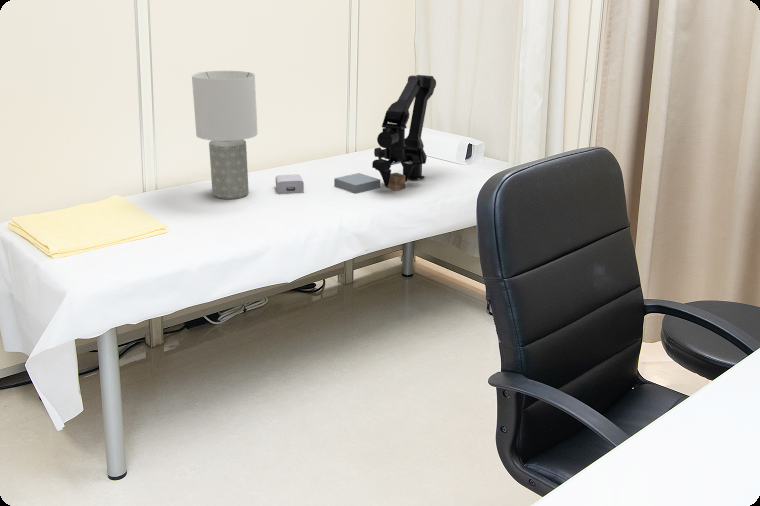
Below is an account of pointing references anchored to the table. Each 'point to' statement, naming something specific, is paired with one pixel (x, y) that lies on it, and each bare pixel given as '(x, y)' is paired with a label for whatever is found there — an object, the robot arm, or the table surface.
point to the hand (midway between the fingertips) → (395, 184)
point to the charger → (289, 184)
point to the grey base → (357, 183)
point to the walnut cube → (396, 181)
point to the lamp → (226, 126)
